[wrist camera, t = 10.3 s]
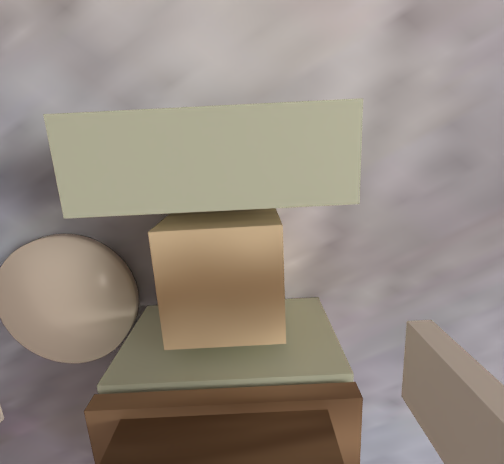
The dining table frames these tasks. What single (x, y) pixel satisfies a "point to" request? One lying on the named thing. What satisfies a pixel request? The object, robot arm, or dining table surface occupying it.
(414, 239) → the dining table surface
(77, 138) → the pale green split block
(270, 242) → the maple block
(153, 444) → the walnut cover
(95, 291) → the cream coaster
